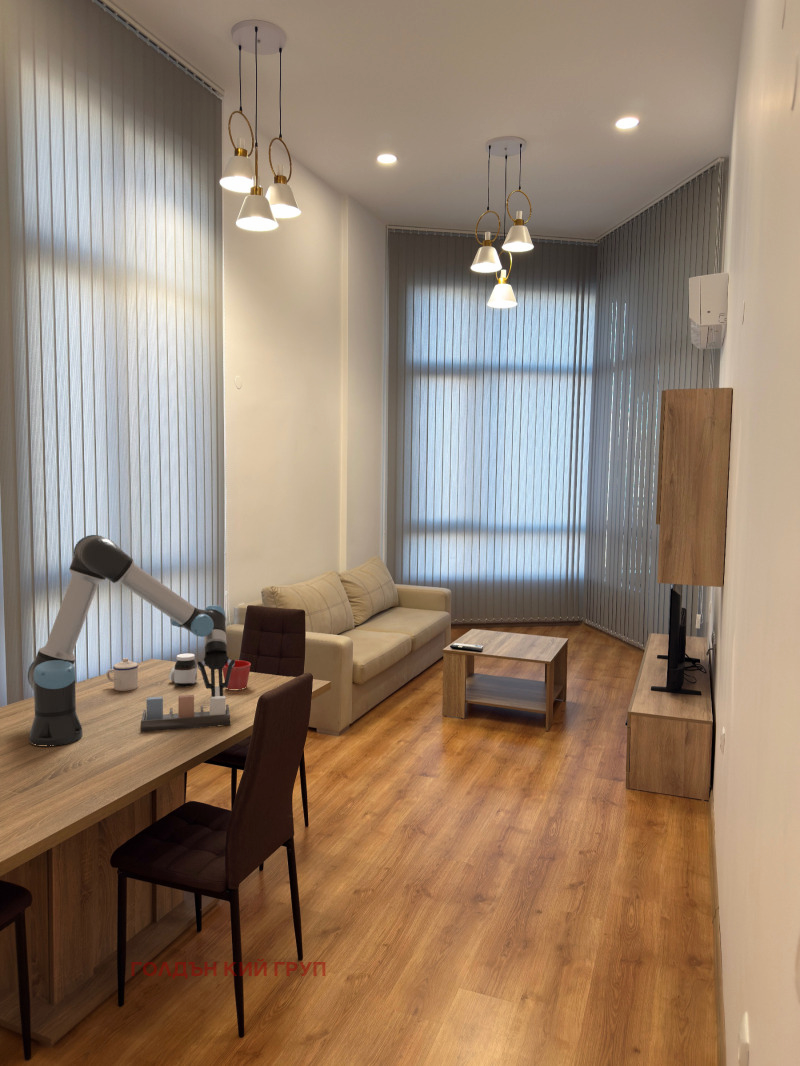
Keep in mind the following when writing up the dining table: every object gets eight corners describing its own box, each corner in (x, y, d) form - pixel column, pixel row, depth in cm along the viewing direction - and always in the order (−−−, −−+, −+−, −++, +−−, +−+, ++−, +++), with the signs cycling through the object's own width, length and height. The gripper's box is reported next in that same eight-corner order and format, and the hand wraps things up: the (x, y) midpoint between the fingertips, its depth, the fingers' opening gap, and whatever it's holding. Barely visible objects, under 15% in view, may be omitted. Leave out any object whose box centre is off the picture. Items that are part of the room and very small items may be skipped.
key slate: (147, 718, 248) (146, 697, 248) (163, 717, 249) (162, 696, 249) (146, 721, 246) (146, 699, 245) (162, 720, 247) (162, 698, 246)
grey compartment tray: (143, 720, 252) (143, 710, 252) (228, 714, 260) (228, 704, 259) (140, 731, 241) (140, 721, 240) (230, 725, 248) (230, 715, 248)
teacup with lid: (142, 685, 294) (141, 655, 294) (133, 691, 285) (132, 661, 284) (111, 684, 295) (111, 655, 294) (102, 691, 286) (101, 660, 285)
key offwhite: (209, 718, 250) (209, 696, 249) (225, 716, 251) (225, 695, 250) (209, 720, 247) (209, 699, 247) (225, 719, 249) (225, 698, 248)
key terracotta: (178, 716, 251) (178, 695, 250) (194, 715, 252) (194, 694, 252) (178, 719, 248) (178, 697, 248) (194, 717, 250) (194, 696, 249)
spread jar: (191, 688, 291) (190, 658, 290) (162, 687, 292) (162, 658, 291) (201, 680, 303) (201, 651, 302) (173, 679, 304) (173, 650, 303)
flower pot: (244, 692, 286) (244, 667, 285) (217, 691, 287) (217, 666, 287) (254, 685, 296) (254, 661, 295) (228, 683, 298) (228, 659, 297)
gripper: (234, 650, 270) (237, 709, 256) (196, 652, 267) (197, 712, 252) (234, 638, 265) (237, 698, 250) (196, 640, 261) (197, 701, 247)
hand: (217, 705), depth 251 cm, fingers closed
